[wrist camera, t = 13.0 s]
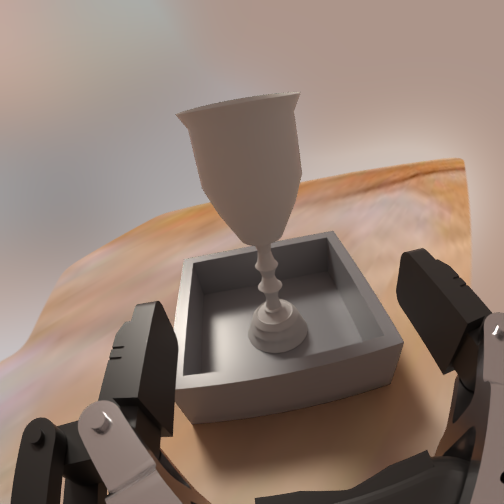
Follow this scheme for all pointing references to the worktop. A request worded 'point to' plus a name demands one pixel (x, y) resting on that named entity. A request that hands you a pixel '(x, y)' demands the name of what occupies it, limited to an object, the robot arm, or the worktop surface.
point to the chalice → (254, 192)
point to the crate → (285, 363)
